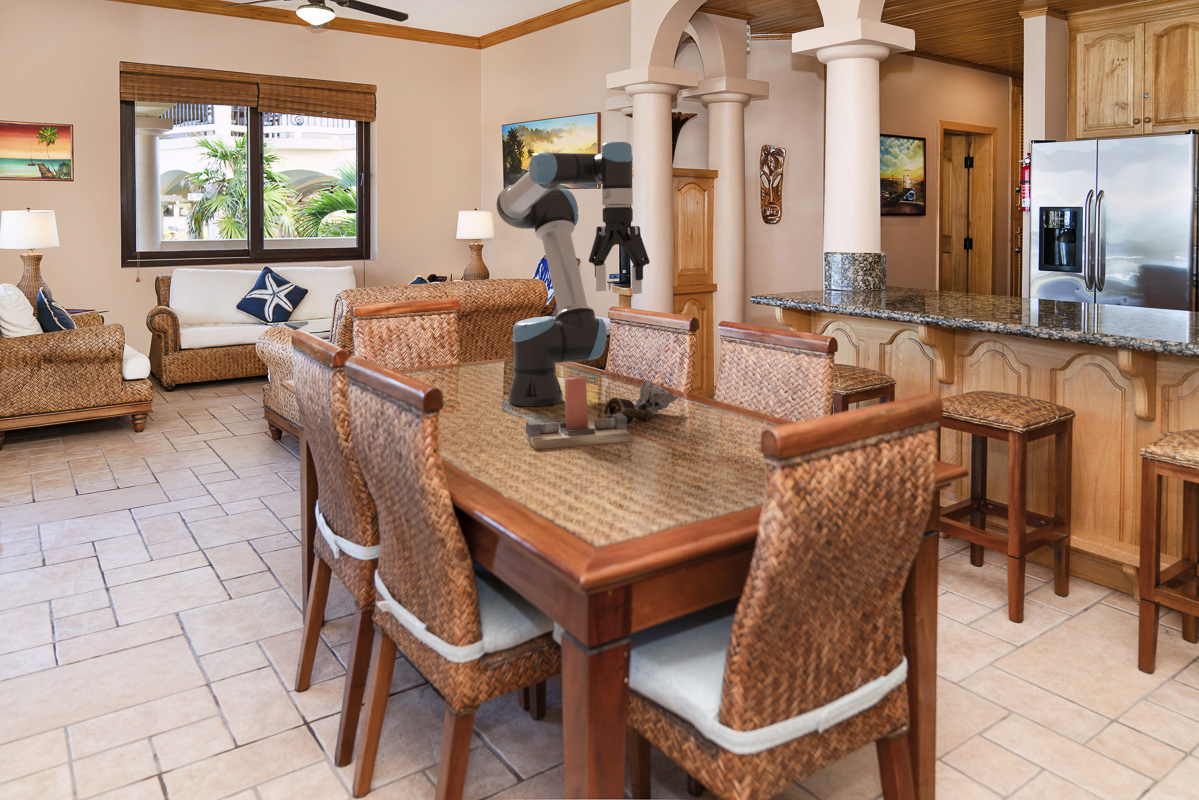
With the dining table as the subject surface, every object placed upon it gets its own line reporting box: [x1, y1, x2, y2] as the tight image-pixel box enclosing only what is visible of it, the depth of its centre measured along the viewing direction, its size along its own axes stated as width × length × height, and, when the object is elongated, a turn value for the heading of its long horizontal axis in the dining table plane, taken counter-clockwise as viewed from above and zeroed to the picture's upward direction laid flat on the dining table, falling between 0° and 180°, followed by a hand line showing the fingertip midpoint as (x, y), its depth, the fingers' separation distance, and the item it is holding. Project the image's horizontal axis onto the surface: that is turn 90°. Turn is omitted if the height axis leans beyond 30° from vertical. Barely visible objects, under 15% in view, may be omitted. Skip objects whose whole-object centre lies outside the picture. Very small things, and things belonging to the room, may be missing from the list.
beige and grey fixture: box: [524, 414, 631, 450], centre depth 208 cm, size 12×23×5 cm, turn 106°
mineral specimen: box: [634, 380, 679, 415], centre depth 233 cm, size 11×9×12 cm
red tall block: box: [564, 376, 589, 431], centre depth 207 cm, size 5×5×12 cm
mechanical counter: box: [603, 396, 653, 425], centre depth 223 cm, size 7×13×10 cm
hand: (618, 292), depth 228 cm, fingers open, 13 cm apart
